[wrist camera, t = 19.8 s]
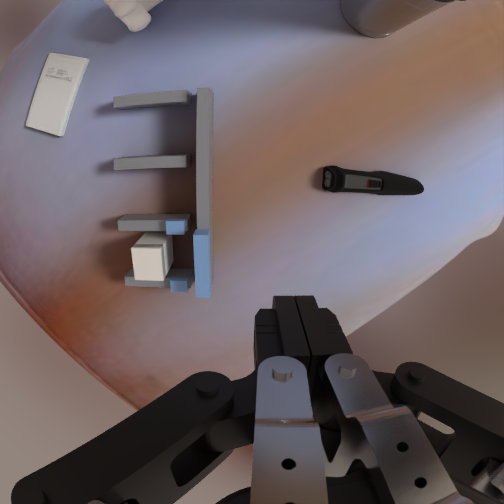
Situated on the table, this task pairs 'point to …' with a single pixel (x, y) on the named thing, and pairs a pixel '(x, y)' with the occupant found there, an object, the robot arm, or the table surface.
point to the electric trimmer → (369, 182)
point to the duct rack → (181, 222)
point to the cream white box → (152, 256)
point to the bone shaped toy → (133, 12)
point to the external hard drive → (56, 93)
